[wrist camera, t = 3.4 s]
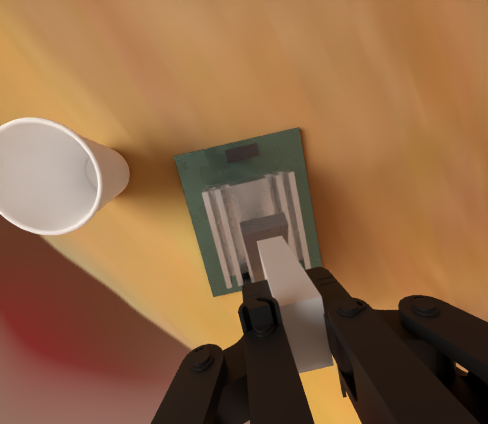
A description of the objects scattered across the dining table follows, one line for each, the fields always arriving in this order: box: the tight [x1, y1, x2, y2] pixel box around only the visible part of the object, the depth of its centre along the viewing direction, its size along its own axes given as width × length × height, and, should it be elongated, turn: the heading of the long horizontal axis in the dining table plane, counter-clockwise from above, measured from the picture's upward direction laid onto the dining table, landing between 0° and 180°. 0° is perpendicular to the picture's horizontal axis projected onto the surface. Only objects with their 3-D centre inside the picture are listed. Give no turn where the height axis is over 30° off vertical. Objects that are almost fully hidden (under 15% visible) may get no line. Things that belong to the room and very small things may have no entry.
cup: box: [0, 117, 130, 235], centre depth 26 cm, size 10×10×11 cm
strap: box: [240, 212, 288, 282], centre depth 22 cm, size 15×3×1 cm
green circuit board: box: [174, 127, 322, 302], centre depth 29 cm, size 20×16×10 cm
